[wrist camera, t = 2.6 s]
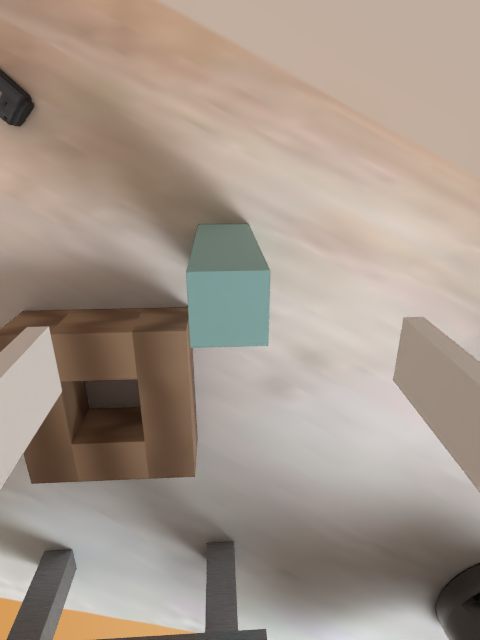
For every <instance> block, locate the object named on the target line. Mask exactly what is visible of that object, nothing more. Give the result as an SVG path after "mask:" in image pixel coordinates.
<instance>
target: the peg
mask: <svg viewBox="0 0 480 640" xmlns="http://www.w3.org/2000/svg"><path fill="white" fill-rule="evenodd" d="M186 278H187V296H188V314H189V332H190V348H203V347H241V346H268V337H269V298H270V269H269V267H268V265H267V262H266V260H265V258H264V256H263V254H262V252H261V249H260V247H259V245H258V243H257V241H256V239H255V236H254V234H253V232H252V230H251V228H250V226H249V224H198V228H197V232H196V236H195V240H194V244H193V248H192V251H191V255H190V259H189V263H188V267H187V271H186Z"/></svg>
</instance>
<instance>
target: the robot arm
mask: <svg viewBox="0 0 480 640" xmlns="http://www.w3.org/2000/svg"><path fill="white" fill-rule="evenodd" d="M393 381H394V382H395V383H396V385H397V386H398V387H399V389H400V390H401V391H402V392H403V394H404V395H405V396H406V398H407V399H408V400H409V401H410V403H411V404H412V405H413V407H414V408H415V409H416V411H417V412H418V413H419V414H420V416H421V417H422V418H423V420H424V421H425V422H426V423H427V425H428V426H429V427H430V429H431V430H432V431H433V432H434V434H435V435H436V436H437V438H438V439H439V440H440V442H441V443H442V444H443V445H444V447H445V448H446V449H447V451H448V452H449V453H450V454H451V456H452V457H453V458H454V460H455V461H456V462H457V463H458V465H459V466H460V467H461V469H462V470H463V471H464V473H465V474H466V475H467V476H468V478H469V479H470V480H471V482H472V483H473V484H474V485H475V487H476V488H477V489H478V491H479V492H480V362H479V361H478V360H477V359H475V358H474V357H473V356H472V355H470V354H469V353H468V352H467V351H465V350H464V349H463V348H462V347H460V346H459V345H458V344H457V343H455V342H454V341H453V340H452V339H450V338H449V337H448V336H447V335H445V334H444V333H443V332H442V331H440V330H439V329H438V328H437V327H435V326H434V325H433V324H432V323H430V322H429V321H428V320H427V319H425V318H424V317H404V318H403V324H402V330H401V336H400V342H399V348H398V354H397V360H396V366H395V372H394V377H393ZM61 393H62V388H61V383H60V378H59V373H58V369H57V364H56V359H55V354H54V349H53V344H52V339H51V335H50V330H49V326H47V327H27V328H25V329H24V330H23V331H22V332H21V333H20V334H19V335H18V336H17V337H16V338H15V339H14V340H13V341H12V342H11V343H10V344H9V345H8V346H7V347H5V348H4V349H3V350H2V351H1V352H0V489H1V488H2V486H3V485H4V483H5V482H6V480H7V478H8V477H9V475H10V474H11V472H12V470H13V469H14V467H15V466H16V464H17V462H18V461H19V459H20V458H21V456H22V455H23V453H24V451H25V450H26V448H27V447H28V445H29V443H30V442H31V440H32V439H33V437H34V435H35V434H36V432H37V431H38V429H39V427H40V426H41V424H42V423H43V421H44V420H45V418H46V416H47V415H48V413H49V412H50V410H51V408H52V407H53V405H54V404H55V402H56V400H57V399H58V397H59V396H60V394H61ZM436 613H437V617H438V619H439V621H440V623H441V625H442V627H443V629H444V632H445V634H446V635H447V637H448V639H449V640H480V565H477V566H475V567H473V568H471V569H469V570H467V571H465V572H463V573H462V574H460V575H459V576H457V577H456V578H455V579H454V580H452V581H451V582H450V583H449V584H448V585H447V586H446V588H445V589H444V590H443V592H442V593H441V595H440V597H439V599H438V602H437V606H436Z"/></svg>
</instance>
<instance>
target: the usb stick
mask: <svg viewBox="0 0 480 640" xmlns="http://www.w3.org/2000/svg"><path fill="white" fill-rule="evenodd" d="M33 108H34V103H32V99H31V97H30V95H29V94H28V93H27V92H26V91H24V90H23V89H22V88H21V87H20V86H19V85H17V84H16V83H15V82H14V81H13V80H12V79H11V78H10V77H8V76H7V75H6V74H5V73H4V72H3V71H1V70H0V118H2V119H3V120H4V121H6V122H7V123H8V124H9V125H15V126H21V125H22V124H23V123H24V121H25V120H26V118H27V117H28V116H29V114H30V112H31V111H32V109H33Z"/></svg>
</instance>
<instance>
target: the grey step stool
mask: <svg viewBox="0 0 480 640" xmlns="http://www.w3.org/2000/svg"><path fill="white" fill-rule="evenodd" d="M76 569H77V568H76V564H75V560H74V555H73V551H72V550H61V551H45V552H44V554H43V556H42V559H41V561H40V563H39V566H38V568H37V570H36V573H35V575H34V577H33V580H32V582H31V584H30V587H29V589H28V591H27V593H26V596H25V598H24V600H23V603H22V605H21V607H20V610H19V612H18V615H17V617H16V619H15V621H14V624H13V626H12V628H11V631H10V633H9V635H8V638H7V640H52V639H53V637H54V634H55V631H56V628H57V625H58V622H59V619H60V616H61V613H62V610H63V607H64V604H65V601H66V598H67V595H68V592H69V589H70V586H71V583H72V580H73V577H74V574H75V571H76ZM98 640H267V635H266V629H259V630H243V631H238V621H237V599H236V577H235V555H234V542H218V543H207V582H206V627H205V633H195V634H179V635H163V636H146V637H132V638H115V639H98Z"/></svg>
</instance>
